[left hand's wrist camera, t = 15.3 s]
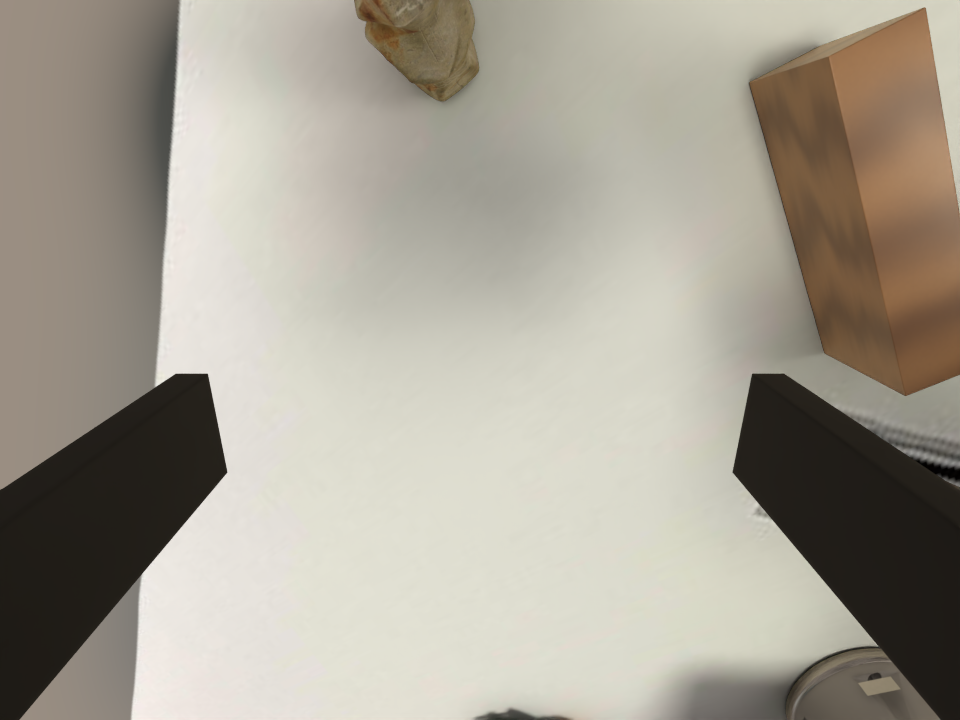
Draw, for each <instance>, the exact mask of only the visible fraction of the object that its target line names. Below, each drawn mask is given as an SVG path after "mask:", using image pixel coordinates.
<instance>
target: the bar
mask: <svg viewBox="0 0 960 720" xmlns="http://www.w3.org/2000/svg"><path fill="white" fill-rule="evenodd" d="M750 87H751V91H752V94H753V98H754V101H755V105H756V109H757V112H758V116H759V119H760V123H761V127H762V130H763V134H764V137H765V141H766V145H767V148H768V152H769V155H770V159H771V163H772V166H773V170H774V173H775V177H776V180H777V184H778V188H779V191H780V195H781V198H782V202H783V206H784V209H785V213H786V216H787V220H788V224H789V227H790V231H791V234H792V238H793V242H794V245H795V249H796V252H797V256H798V260H799V263H800V267H801V270H802V274H803V277H804V281H805V285H806V288H807V292H808V295H809V299H810V303H811V306H812V310H813V313H814V317H815V321H816V324H817V328H818V331H819V335H820V339H821V342H822V346H823V349H824V353H825V354H827V355H829V356H831V357H833V358H834V359H836V360H838V361H840V362H842V363H844V364H846V365H848V366H850V367H852V368H853V369H855V370H857V371H859V372H861V373H863V374H865V375H867V376H869V377H870V378H872V379H874V380H876V381H878V382H880V383H882V384H884V385H886V386H887V387H889V388H891V389H893V390H895V391H897V392H899V393H901V394H903V395H905V396H907V395H910V394H912V393H915V392H917V391H920V390H922V389H925V388H927V387H930V386H932V385H935V384H937V383H940V382H942V381H945V380H947V379H950V378H952V377H955V376H958V375H960V214H959V208H958V202H957V196H956V190H955V183H954V177H953V171H952V165H951V159H950V153H949V147H948V141H947V135H946V129H945V123H944V117H943V110H942V104H941V98H940V92H939V86H938V80H937V74H936V68H935V62H934V56H933V50H932V43H931V37H930V31H929V25H928V19H927V13H926V8H922V9H919V10H916V11H913V12H911V13H908V14H905V15H903V16H900V17H897V18H894V19H892V20H889V21H886V22H884V23H881V24H878V25H875V26H873V27H870V28H867V29H865V30H862V31H859V32H856V33H854V34H851V35H848V36H846V37H843V38H840V39H837V40H835V41H832V42H829V43H827V44H824V45H821V46H819V47H817V48H815V49H813V50H811V51H810V52H808V53H806V54H804V55H802V56H800V57H798V58H796V59H794V60H792V61H790V62H788V63H786V64H784V65H782V66H780V67H778V68H776V69H774V70H773V71H771V72H769V73H767V74H765V75H763V76H761V77H759V78H757V79H755V80H753V81H751V82H750Z"/></svg>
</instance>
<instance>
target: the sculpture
mask: <svg viewBox="0 0 960 720" xmlns="http://www.w3.org/2000/svg"><path fill="white" fill-rule="evenodd" d="M354 1H355V7H356V13H357V16H358V18H359V19H361V20H363V21H367V22H366V27H365V35H366V38H367V40H368V41H369V42H370V43H371V44H372V45H373V46H374V47H375V48H376V49H377V50H379V51H380V52H381V53H382V54H383V55H384V57H385V58H386V59H387V60H388V61H389V62H390V63H392V64H393V65H394V66H395V67H396V68H397V69H398V70H399V71H400V72H401V73H402V74H403V75H405V76H406V78H407V79H408V80H409V81H410V82H411V83H414V84H416V85H417V86H418V87H419V88H420V89H422V90H423V91H424V92H425V93H427V94H428V95H430V96H431V97H433V98H434V99H436V100H438V101H446V100H447V99H449V98H450V97H452V96H453V95H454V94H456V93H457V92H458V91H459V90H461V89H462V88H463V87H464V86H465V85H467V84H468V83H469V82H470V81H471V80H472V79H473V78H474V77H475V76H476V74H477V73H478V71H479V63H478V58H477V54H476V50H475V46H474V43H473V40H472V34H473V30H474V24H475V19H474V14H473V10H472V7H471V4H470V1H469V0H354Z"/></svg>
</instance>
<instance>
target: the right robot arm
mask: <svg viewBox="0 0 960 720" xmlns="http://www.w3.org/2000/svg"><path fill="white" fill-rule="evenodd" d="M786 715H787V719H788V720H940V718H939V717H938V716H937V715H936V714H935V712H934V711H933V710H932V709H931V708H930V706H929V705H928V704H927V703H926V702H925V701H924V699H923V698H922V697H921V696H920V695H919V693H918V692H917V691H916V690H915V689H914V687H913V686H912V685H911V684H910V683H909V681H908V680H907V679H906V678H905V677H904V676H903V674H902V673H901V672H900V671H899V670H898V668H897V667H896V666H895V665H894V664H893V662H892V661H891V660H890V659H889V658H888V657H887V655H886V654H885V653H884V652H883V651H882V649H880V648H867V649H858V650H852V651H848V652H844V653H841V654H838V655H835V656H833V657H830V658H828V659H826V660H824V661H822V662H820V663H818V664H817V665H815V666H814V667H812V668H811V669H810V670H808V671H807V672H806V673H805V674H804V675H802V676H801V677H800V679H799V680H798V681H797V682H796V683H795V685H794V686H793V688H792V689H791V691H790V693H789V695H788V698H787V702H786Z"/></svg>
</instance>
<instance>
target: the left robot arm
mask: <svg viewBox="0 0 960 720" xmlns="http://www.w3.org/2000/svg"><path fill="white" fill-rule="evenodd" d="M226 473H227V468H226V463H225V458H224V453H223V448H222V443H221V438H220V433H219V428H218V423H217V418H216V413H215V408H214V403H213V398H212V393H211V388H210V382H209V377H208V374H175V375H173V376H172V377H170V378H169V379H167V380H166V381H164V382H163V383H161V384H160V385H158V386H157V387H155V388H154V389H152V390H151V391H149V392H148V393H146V394H145V395H143V396H142V397H140V398H139V399H137V400H136V401H134V402H133V403H131V404H130V405H128V406H127V407H125V408H124V409H122V410H121V411H119V412H118V413H116V414H115V415H113V416H112V417H110V418H109V419H107V420H106V421H104V422H103V423H101V424H100V425H98V426H97V427H95V428H94V429H92V430H91V431H89V432H88V433H86V434H85V435H83V436H82V437H80V438H79V439H77V440H76V441H74V442H73V443H71V444H69V445H68V446H67V447H65V448H63V449H62V450H60V451H59V452H57V453H56V454H54V455H53V456H51V457H50V458H48V459H47V460H45V461H44V462H42V463H41V464H39V465H38V466H36V467H35V468H33V469H32V470H30V471H29V472H27V473H26V474H24V475H23V476H21V477H20V478H18V479H17V480H15V481H14V482H12V483H11V484H9V485H8V486H6V487H5V488H3V489H1V490H0V720H19V719H20V718H21V717H22V716H23V715H24V714H25V712H26V711H27V710H28V709H29V708H30V706H31V705H32V704H33V703H34V702H35V700H36V699H37V698H38V697H39V696H40V695H41V693H42V692H43V691H44V690H45V689H46V687H47V686H48V685H49V684H50V683H51V681H52V680H53V679H54V678H55V677H56V676H57V674H58V673H59V672H60V671H61V670H62V668H63V667H64V666H65V665H66V664H67V662H68V661H69V660H70V659H71V658H72V657H73V655H74V654H75V653H76V652H77V651H78V649H79V648H80V647H81V646H82V645H83V643H84V642H85V641H86V640H87V639H88V637H89V636H90V635H91V634H92V633H93V631H94V630H95V629H96V628H97V627H98V626H99V624H100V623H101V622H102V621H103V620H104V618H105V617H106V616H107V615H108V614H109V613H110V611H111V610H112V609H113V608H114V607H115V605H116V604H117V603H118V602H119V601H120V599H121V598H122V597H123V596H124V595H125V594H126V592H127V591H128V590H129V589H130V588H131V586H132V585H133V584H134V583H135V582H136V580H137V579H138V578H139V577H140V576H141V574H142V573H143V572H144V571H145V570H146V569H147V567H148V566H149V565H150V564H151V563H152V561H153V560H154V559H155V558H156V557H157V555H158V554H159V553H160V552H161V551H162V550H163V548H164V547H165V546H166V545H167V544H168V542H169V541H170V540H171V539H172V538H173V536H174V535H175V534H176V533H177V532H178V530H179V529H180V528H181V527H182V526H183V525H184V523H185V522H186V521H187V520H188V519H189V517H190V516H191V515H192V514H193V513H194V511H195V510H196V509H197V508H198V507H199V506H200V504H201V503H202V502H203V501H204V500H205V498H206V497H207V496H208V495H209V494H210V492H211V491H212V490H213V489H214V488H215V486H216V485H217V484H218V483H219V482H220V481H221V479H222V478H223V477H224V476H225V475H226ZM733 473H734V475H735V476H736V477H737V478H738V479H739V481H740V482H741V483H742V484H743V485H744V486H745V488H746V489H747V490H748V491H749V492H750V494H751V495H752V496H753V497H754V498H755V500H756V501H757V502H758V503H759V504H760V506H761V507H762V508H763V509H764V510H765V511H766V513H767V514H768V515H769V516H770V517H771V519H772V520H773V521H774V522H775V523H776V525H777V526H778V527H779V528H780V529H781V530H782V532H783V533H784V534H785V535H786V536H787V538H788V539H789V540H790V541H791V542H792V544H793V545H794V546H795V547H796V548H797V550H798V551H799V552H800V553H801V554H802V555H803V557H804V558H805V559H806V560H807V561H808V563H809V564H810V565H811V566H812V567H813V569H814V570H815V571H816V572H817V573H818V574H819V576H820V577H821V578H822V579H823V580H824V582H825V583H826V584H827V585H828V586H829V588H830V589H831V590H832V591H833V592H834V594H835V595H836V596H837V597H838V598H839V599H840V601H841V602H842V603H843V604H844V605H845V607H846V608H847V609H848V610H849V611H850V613H851V614H852V615H853V616H854V617H855V618H856V620H857V621H858V622H859V623H860V624H861V626H862V627H863V628H864V629H865V630H866V632H867V633H868V634H869V635H870V636H871V637H872V639H873V640H874V641H875V642H876V643H877V645H878V646H879V647H880V648H881V649H882V651H883V652H884V653H885V654H886V655H887V657H888V658H889V659H890V660H891V661H892V662H893V664H894V665H895V666H896V667H897V668H898V670H899V671H900V672H901V673H902V674H903V676H904V677H905V678H906V679H907V680H908V681H909V683H910V684H911V685H912V686H913V687H914V689H915V690H916V691H917V692H918V693H919V695H920V696H921V697H922V698H923V699H924V701H925V702H926V703H927V704H928V705H929V706H930V708H931V709H932V710H933V711H934V712H935V714H936V715H937V716H938V717H939V718H940V720H960V487H958V486H955V485H953V484H951V483H949V482H946V481H945V480H943V479H942V478H940V477H939V476H937V475H936V474H934V473H933V472H931V471H930V470H928V469H927V468H925V467H924V466H922V465H921V464H919V463H918V462H916V461H915V460H913V459H912V458H910V457H909V456H907V455H906V454H904V453H903V452H901V451H900V450H898V449H897V448H895V447H894V446H892V445H891V444H889V443H888V442H886V441H884V440H883V439H881V438H880V437H878V436H877V435H875V434H874V433H872V432H871V431H869V430H868V429H866V428H865V427H863V426H862V425H860V424H859V423H857V422H856V421H854V420H853V419H851V418H850V417H848V416H847V415H845V414H844V413H842V412H841V411H839V410H838V409H836V408H835V407H833V406H832V405H830V404H829V403H827V402H826V401H824V400H823V399H821V398H820V397H818V396H817V395H815V394H814V393H812V392H811V391H809V390H808V389H806V388H805V387H803V386H802V385H800V384H799V383H797V382H796V381H794V380H793V379H791V378H790V377H788V376H787V375H785V374H752V377H751V382H750V388H749V393H748V398H747V403H746V408H745V413H744V418H743V423H742V428H741V433H740V438H739V443H738V448H737V453H736V458H735V463H734V468H733Z"/></svg>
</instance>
